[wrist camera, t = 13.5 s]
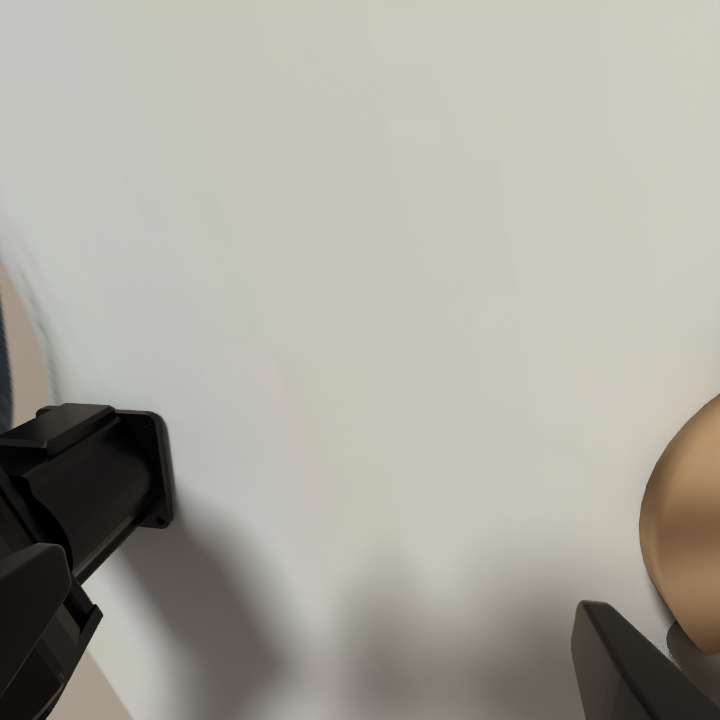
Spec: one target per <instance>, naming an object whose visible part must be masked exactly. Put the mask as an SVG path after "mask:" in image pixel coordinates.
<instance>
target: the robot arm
mask: <svg viewBox="0 0 720 720" xmlns="http://www.w3.org/2000/svg"><path fill="white" fill-rule="evenodd" d="M146 419H147V420H148V421H149V422H150V424H151V425H149V424H148V423H147V422H146ZM161 517H163V518H164V519H162V518H161ZM172 521H173V510H172V503H171V496H170V489H169V482H168V475H167V467H166V460H165V453H164V446H163V439H162V432H161V425H160V420H159V417H158V416H157V415H156V414H155V413H153V412H150V411H135V410H118V409H115V408H114V407H112V406H110V405H95V404H76V403H65V404H63V405H61V406H45V407H43V408H41V409H39V410H38V411H37V412H36V418H34V419H32V420H30V421H28V422H26V423H24V424H22V425H20V426H18V427H16V428H14V429H12V430H10V431H8V432H5V433H3V434H1V435H0V720H46V718H47V717H48V716H49V714H50V713H51V711H52V710H53V708H54V707H55V705H56V703H57V702H58V700H59V698H60V696H61V694H62V693H63V691H64V689H65V687H66V685H67V683H68V681H69V679H70V677H71V676H72V674H73V672H74V670H75V668H76V666H77V664H78V662H79V660H80V659H81V657H82V655H83V653H84V651H85V649H86V647H87V645H88V643H89V642H90V640H91V638H92V636H93V634H94V632H95V630H96V628H97V626H98V625H99V623H100V621H101V619H102V617H103V614H102V612H101V610H100V609H99V607H98V606H97V605H96V604H94V605H93V603H92V602H91V600H90V599H89V597H88V596H87V594H86V593H85V591H84V590H83V588H82V587H81V585H82V584H83V583H84V582H85V581H86V580H87V579H88V578H89V577H90V576H91V575H92V574H93V573H94V572H95V571H96V569H97V568H98V567H99V566H100V565H101V564H102V563H103V562H104V561H105V560H106V559H107V558H108V557H109V556H110V555H111V554H112V553H113V552H114V551H115V550H116V549H117V548H118V547H119V545H120V544H121V543H122V542H123V541H124V540H125V539H126V538H127V537H128V536H129V535H130V534H131V533H132V532H133V531H134V530H135V529H136V528H137V527H138V526H139V527H149V528H160V529H163V528H166V527H168V526H169V525H170V523H171V522H172ZM571 652H572V658H573V663H574V667H575V672H576V676H577V681H578V685H579V690H580V694H581V699H582V704H583V708H584V713H585V717H586V720H720V707H719V706H718V705H717V704H716V703H715V702H714V701H713V700H712V699H711V698H710V697H709V696H708V695H707V694H705V693H704V692H703V691H702V690H701V689H700V688H699V687H698V686H697V685H696V684H695V683H694V682H693V681H692V680H690V679H689V678H688V677H687V676H686V675H685V674H684V673H683V672H682V671H681V670H680V669H679V668H678V667H677V666H675V665H674V664H673V663H672V662H671V661H670V660H669V659H668V658H667V657H666V656H665V655H664V654H663V653H661V652H660V651H659V650H658V649H657V648H656V647H655V646H654V645H653V644H652V643H651V642H650V641H649V640H648V639H646V638H645V637H644V636H643V635H642V634H641V633H640V632H639V631H638V630H637V629H636V628H635V627H634V626H633V625H631V624H630V623H629V622H628V621H627V620H626V619H625V618H624V617H623V616H622V615H621V614H620V613H619V612H617V611H616V610H615V609H614V608H613V607H612V606H611V605H609V604H608V603H605V602H598V601H589V600H582V601H580V602H579V603H578V605H577V609H576V615H575V621H574V626H573V632H572V638H571Z"/></svg>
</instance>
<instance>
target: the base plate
mask: <svg viewBox="0 0 720 720" xmlns="http://www.w3.org/2000/svg"><path fill="white" fill-rule="evenodd" d="M639 530H640V545H641V549H642V554H643V559H644V562H645V565H646V567H647V570H648V572H649V575H650V577H651V580H652V581H653V583H654V585H655V586H656V588H657V590H658V591H659V593H660V594H661V596H662V598H663V599H664V601H665V602H666V604H667V605H668V607H669V609H670V610H671V612H672V613H673V615H674V616H675V618H676V619H677V622H676V623H675V624H674V625H673V626H672V627H671V628H670V630H669V632H668V635H667V645H668V647H669V649H670V651H671V652H672V654H673V656H674V658H675V659H676V661H677V663H678V664H679V666H680V668H681V670H682V671H683V673H684V674H685V675H686V676H687V677H688V678H689V679H690V680H692V681H693V682H694V683H695V684H696V685H697V686H698V687H699V688H700V689H701V690H702V691H703V692H704V693H705V694H707V695H708V696H709V697H710V698H711V699H712V700H713V701H714V702H715V703H716V704H717V705H718V706H719V707H720V394H719V395H717V396H716V397H715V398H713V399H712V400H711V401H709V402H708V403H707V404H705V405H704V406H703V407H702V408H701V409H700V410H699V411H698V412H697V413H696V414H695V415H694V416H693V417H692V418H691V419H690V420H689V421H688V422H686V423H685V425H684V426H683V427H682V428H681V429H680V431H679V432H678V433H677V434H676V436H675V437H674V438H673V439H672V440H671V442H670V443H669V444H668V446H667V447H666V449H665V451H664V452H663V454H662V455H661V457H660V459H659V460H658V462H657V463H656V466H655V468H654V470H653V472H652V474H651V477H650V479H649V481H648V483H647V487H646V490H645V494H644V497H643V501H642V505H641V513H640V521H639Z"/></svg>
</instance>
